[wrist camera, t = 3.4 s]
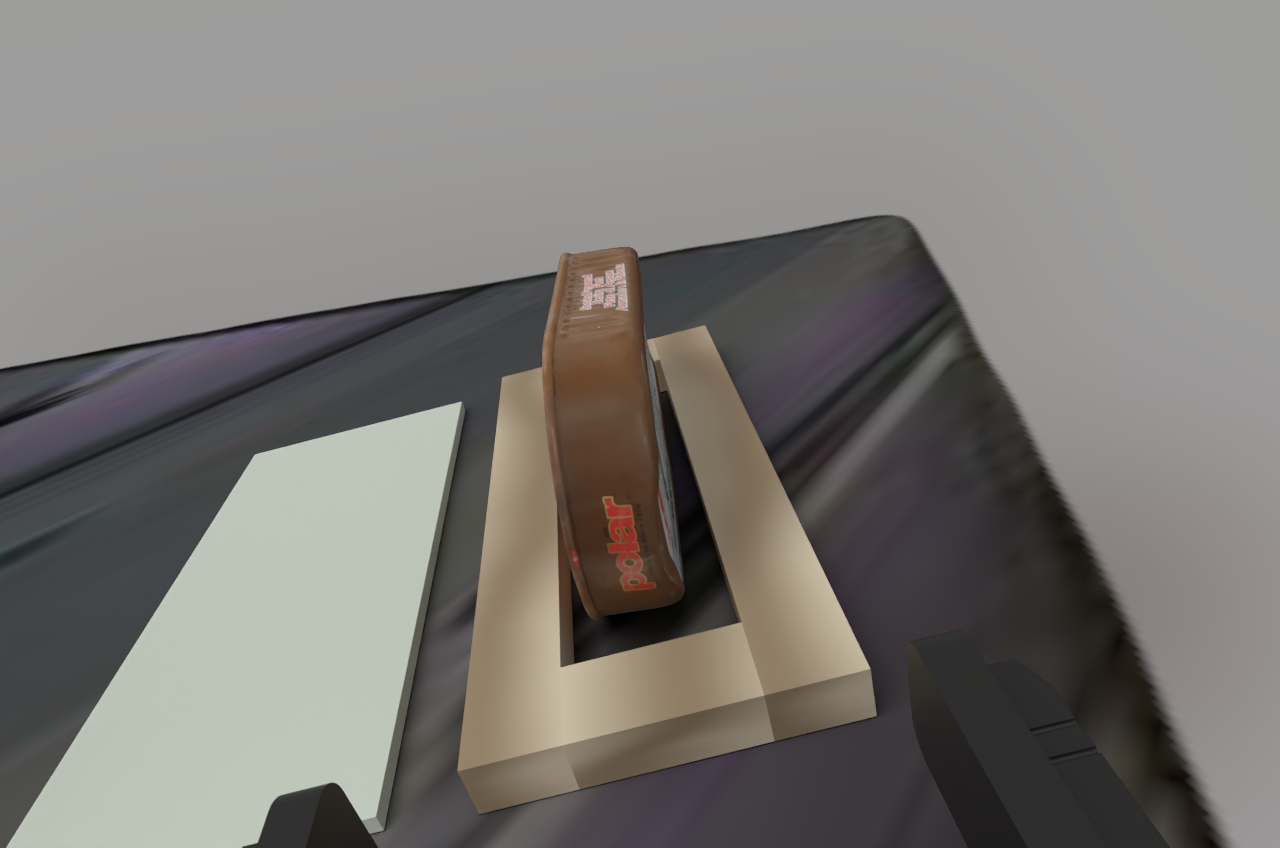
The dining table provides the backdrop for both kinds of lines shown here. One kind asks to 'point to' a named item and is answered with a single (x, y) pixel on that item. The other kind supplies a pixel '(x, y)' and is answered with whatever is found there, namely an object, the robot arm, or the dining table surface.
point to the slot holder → (660, 673)
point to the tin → (609, 438)
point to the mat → (270, 651)
